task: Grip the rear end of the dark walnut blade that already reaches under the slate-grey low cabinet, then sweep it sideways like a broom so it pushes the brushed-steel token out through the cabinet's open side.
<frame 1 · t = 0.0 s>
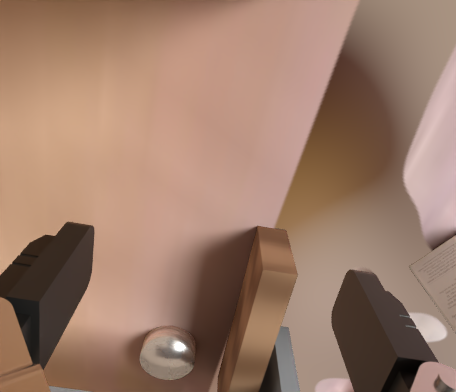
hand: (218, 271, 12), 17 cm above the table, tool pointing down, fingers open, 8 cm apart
steel token: (170, 344, 37), on the table
low cabinet: (180, 347, 37), on the table
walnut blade: (248, 310, 35), on the table
skincare box: (450, 258, 33), on the table
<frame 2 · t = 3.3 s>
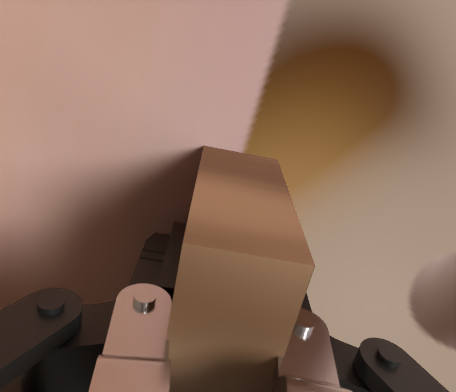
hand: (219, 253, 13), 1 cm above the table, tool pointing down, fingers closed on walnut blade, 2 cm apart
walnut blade: (195, 359, 16), on the table, touching gripper
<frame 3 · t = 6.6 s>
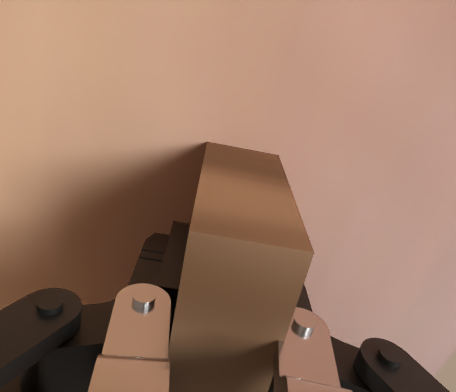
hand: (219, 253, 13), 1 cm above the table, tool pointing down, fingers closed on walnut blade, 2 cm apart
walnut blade: (199, 350, 16), on the table, touching gripper
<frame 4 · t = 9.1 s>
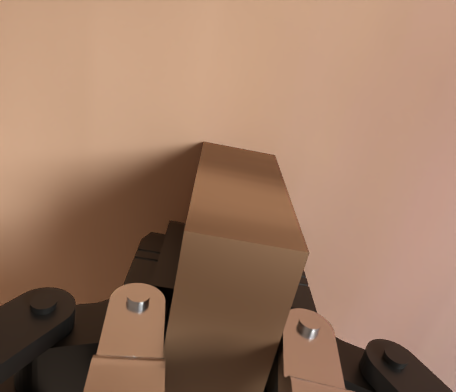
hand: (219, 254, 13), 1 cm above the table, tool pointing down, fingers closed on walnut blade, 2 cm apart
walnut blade: (195, 350, 16), on the table, touching gripper
when the fingers open (1 cm above the table, at t = 9.1 s): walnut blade stays where it is, on the table.
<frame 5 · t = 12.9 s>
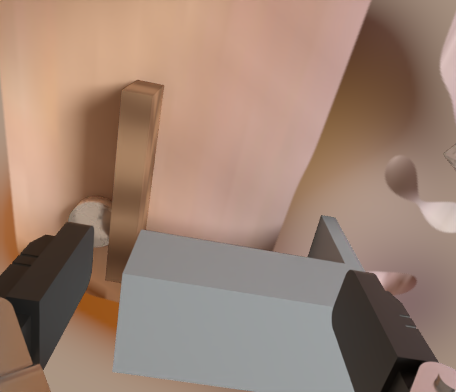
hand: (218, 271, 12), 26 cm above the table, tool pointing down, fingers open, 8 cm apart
steel token: (99, 216, 41), on the table
low cabinet: (237, 239, 42), on the table
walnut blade: (140, 173, 39), on the table
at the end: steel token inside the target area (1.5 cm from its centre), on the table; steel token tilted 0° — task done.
